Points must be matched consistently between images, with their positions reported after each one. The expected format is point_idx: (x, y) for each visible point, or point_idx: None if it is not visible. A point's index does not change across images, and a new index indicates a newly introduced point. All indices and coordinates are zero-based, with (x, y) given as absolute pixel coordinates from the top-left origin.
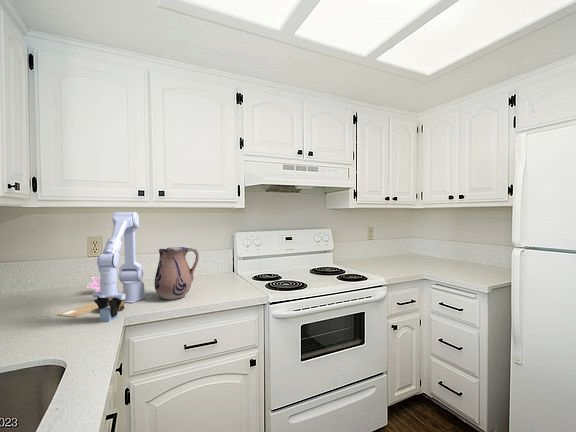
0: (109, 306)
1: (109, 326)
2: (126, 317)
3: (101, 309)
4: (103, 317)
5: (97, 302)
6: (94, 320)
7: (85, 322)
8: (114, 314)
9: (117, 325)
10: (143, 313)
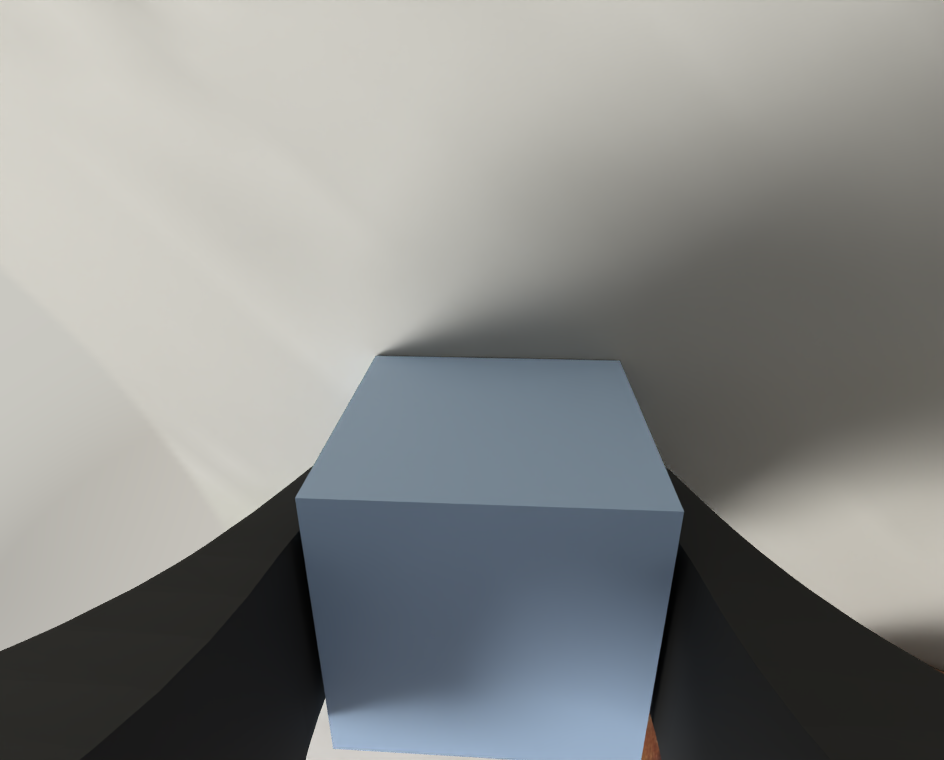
0: (599, 744)
1: (117, 134)
2: None
3: (632, 526)
4: (527, 393)
5: (940, 752)
6: (756, 341)
7: (891, 188)
8: None
9: (22, 231)
10: None
